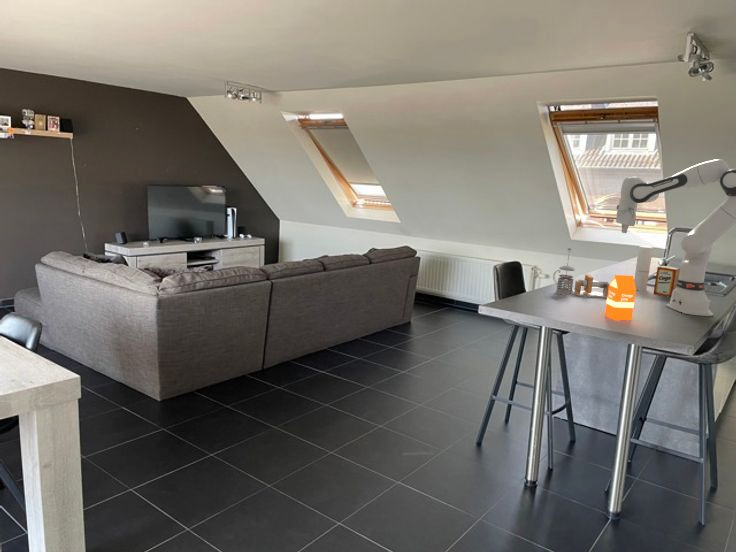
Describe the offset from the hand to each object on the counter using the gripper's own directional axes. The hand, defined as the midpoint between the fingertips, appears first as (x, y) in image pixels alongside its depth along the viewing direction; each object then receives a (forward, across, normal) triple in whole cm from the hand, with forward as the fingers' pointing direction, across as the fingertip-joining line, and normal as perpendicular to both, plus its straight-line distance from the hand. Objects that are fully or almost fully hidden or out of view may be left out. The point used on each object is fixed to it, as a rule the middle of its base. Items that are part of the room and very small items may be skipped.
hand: (623, 232), depth 294 cm
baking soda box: (+34, +9, -29) cm, 46 cm away
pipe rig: (+34, -7, +14) cm, 37 cm away
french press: (+34, -8, +30) cm, 46 cm away
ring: (+32, -7, +17) cm, 37 cm away
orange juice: (+34, -56, +15) cm, 67 cm away
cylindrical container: (+34, +22, -20) cm, 45 cm away
